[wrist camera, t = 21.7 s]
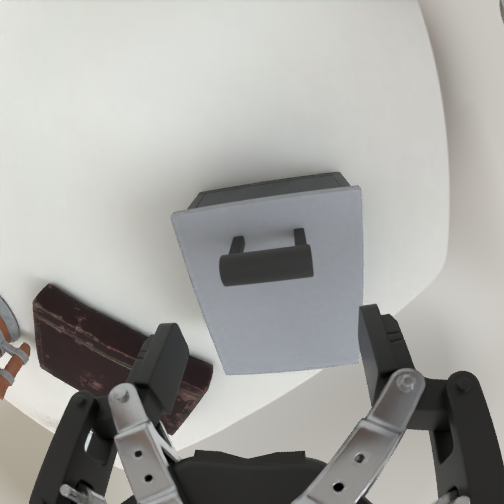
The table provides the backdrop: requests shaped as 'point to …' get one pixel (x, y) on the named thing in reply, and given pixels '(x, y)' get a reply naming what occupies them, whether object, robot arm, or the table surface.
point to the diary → (102, 352)
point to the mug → (10, 348)
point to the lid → (278, 278)
